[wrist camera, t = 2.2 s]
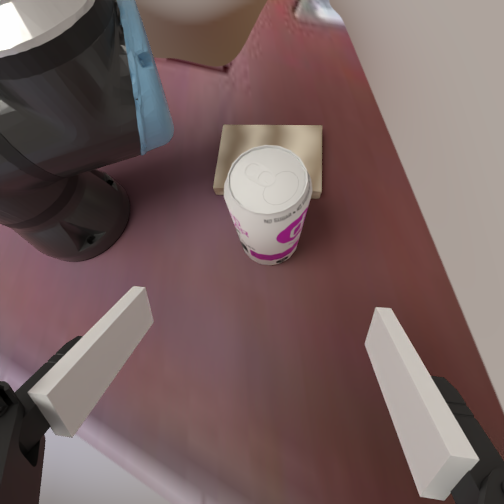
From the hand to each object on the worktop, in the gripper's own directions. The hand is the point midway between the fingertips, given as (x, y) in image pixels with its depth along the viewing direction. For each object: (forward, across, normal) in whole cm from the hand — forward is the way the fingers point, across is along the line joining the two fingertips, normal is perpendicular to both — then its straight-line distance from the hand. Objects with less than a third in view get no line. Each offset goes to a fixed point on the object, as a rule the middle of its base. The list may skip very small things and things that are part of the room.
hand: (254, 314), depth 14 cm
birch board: (+30, -1, +5) cm, 31 cm away
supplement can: (+22, 0, -5) cm, 22 cm away
